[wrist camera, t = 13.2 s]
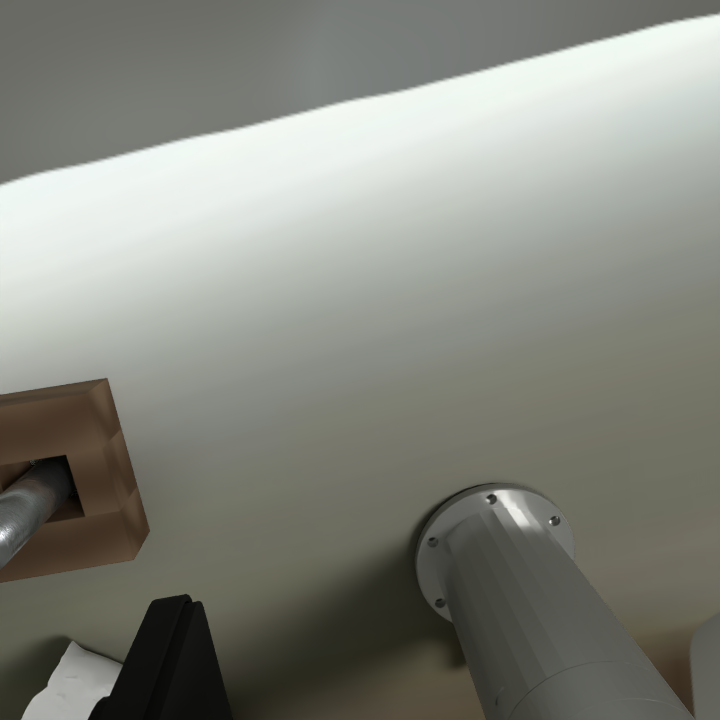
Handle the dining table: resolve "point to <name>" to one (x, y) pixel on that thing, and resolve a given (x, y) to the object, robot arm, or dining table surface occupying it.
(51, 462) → the peg
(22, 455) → the hole block
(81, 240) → the dining table surface
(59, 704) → the white plastic bottle
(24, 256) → the dining table surface
